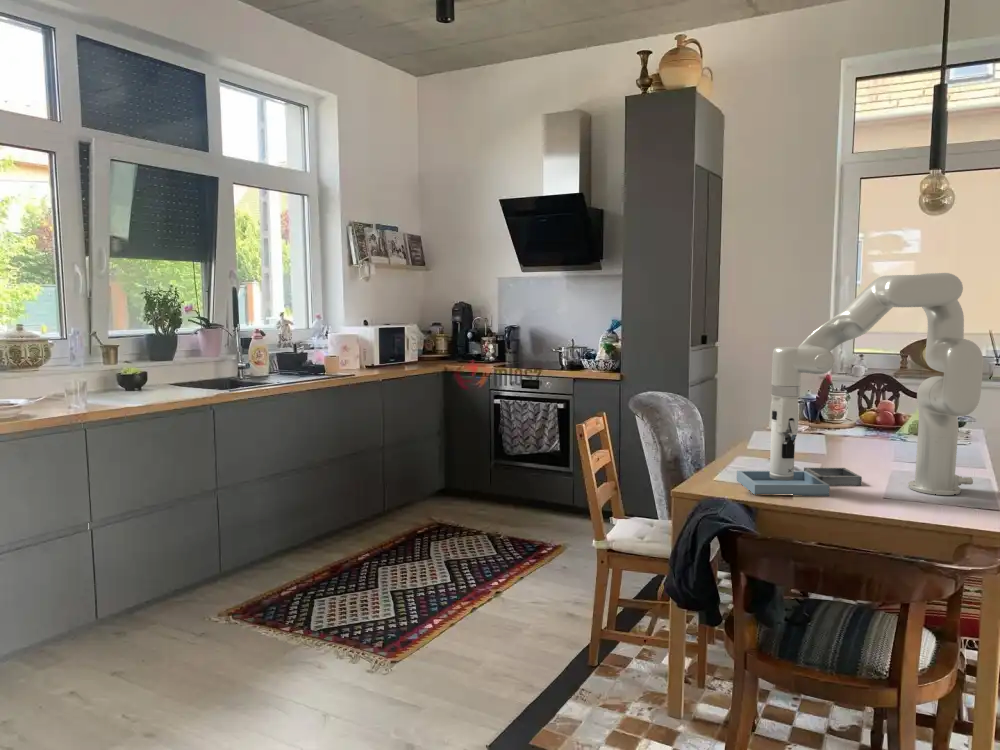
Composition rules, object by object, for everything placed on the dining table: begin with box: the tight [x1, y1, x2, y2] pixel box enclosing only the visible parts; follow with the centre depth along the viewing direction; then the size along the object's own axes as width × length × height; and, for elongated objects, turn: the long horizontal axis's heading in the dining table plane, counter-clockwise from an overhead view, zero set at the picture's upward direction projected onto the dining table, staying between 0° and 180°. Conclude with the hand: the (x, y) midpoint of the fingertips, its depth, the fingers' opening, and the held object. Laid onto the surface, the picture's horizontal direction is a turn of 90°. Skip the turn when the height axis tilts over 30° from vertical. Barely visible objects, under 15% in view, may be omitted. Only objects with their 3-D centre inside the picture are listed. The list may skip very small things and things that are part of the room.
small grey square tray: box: [803, 467, 863, 486], centre depth 217 cm, size 12×11×2 cm
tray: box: [736, 470, 831, 497], centre depth 208 cm, size 20×16×3 cm
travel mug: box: [769, 411, 796, 481], centre depth 207 cm, size 6×7×20 cm
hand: (783, 454), depth 207 cm, fingers closed on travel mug, 6 cm apart
